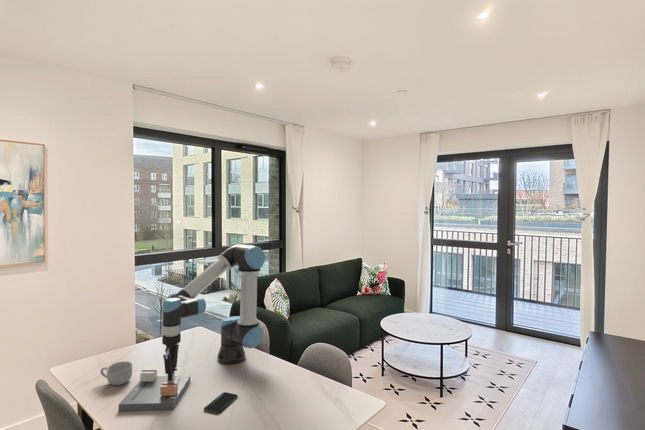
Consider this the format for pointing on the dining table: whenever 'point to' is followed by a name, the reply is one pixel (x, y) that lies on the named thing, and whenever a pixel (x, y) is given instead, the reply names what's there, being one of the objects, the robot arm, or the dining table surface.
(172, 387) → the fader terracotta
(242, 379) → the dining table surface
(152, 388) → the console
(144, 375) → the block
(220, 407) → the phone
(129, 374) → the teacup
